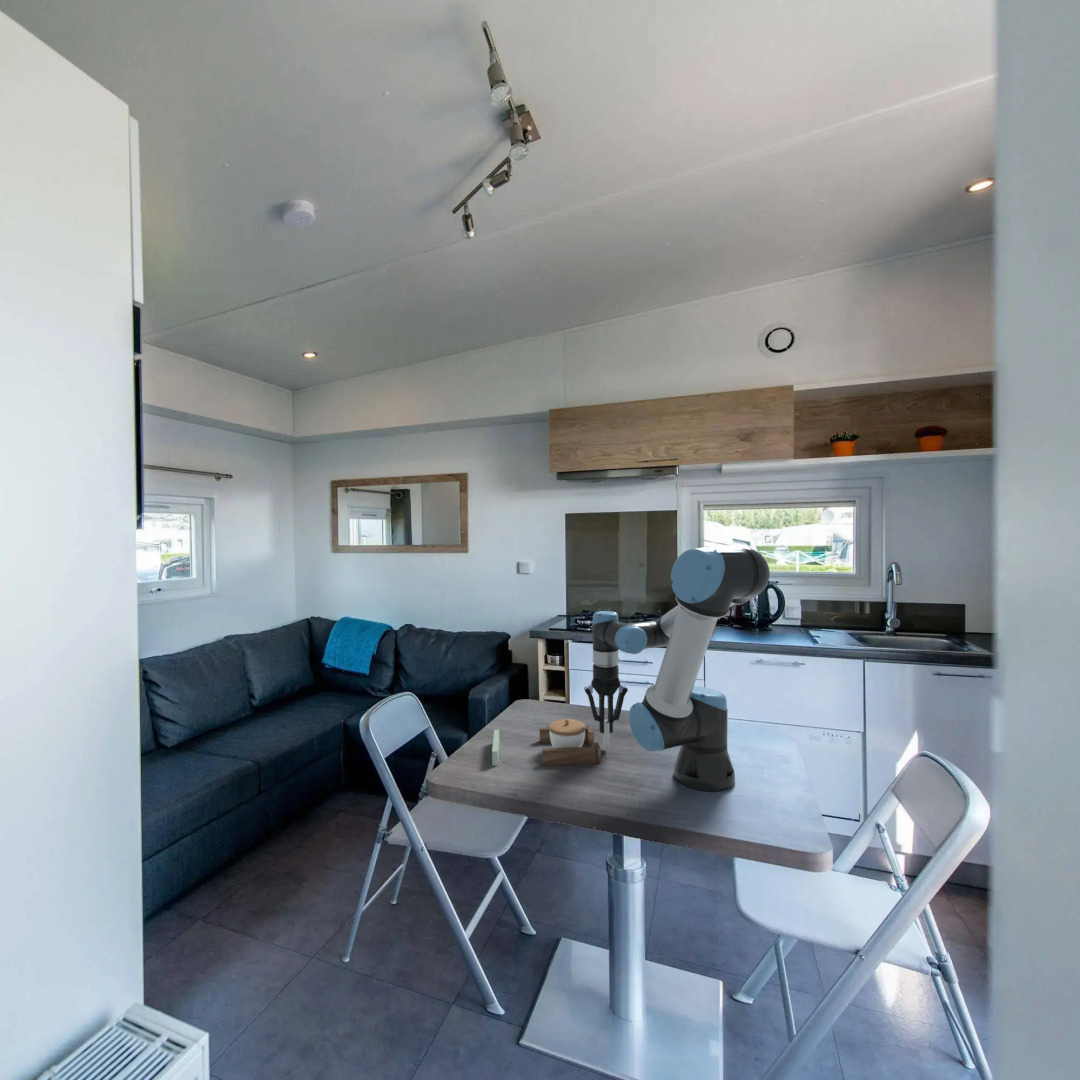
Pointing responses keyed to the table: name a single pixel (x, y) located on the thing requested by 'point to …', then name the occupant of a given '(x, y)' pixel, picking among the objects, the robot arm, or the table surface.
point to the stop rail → (495, 748)
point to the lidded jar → (567, 733)
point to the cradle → (570, 751)
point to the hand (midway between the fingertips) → (606, 743)
